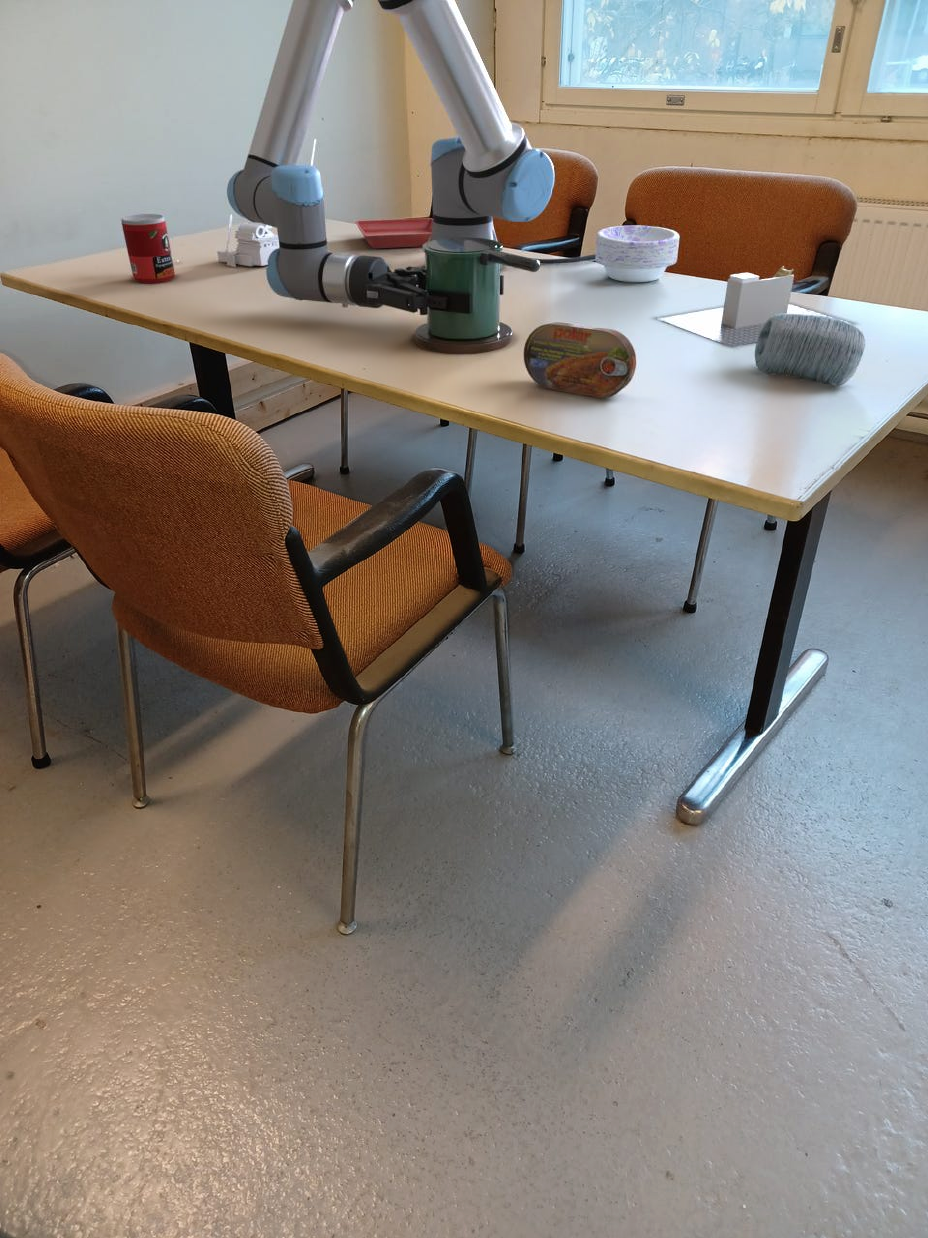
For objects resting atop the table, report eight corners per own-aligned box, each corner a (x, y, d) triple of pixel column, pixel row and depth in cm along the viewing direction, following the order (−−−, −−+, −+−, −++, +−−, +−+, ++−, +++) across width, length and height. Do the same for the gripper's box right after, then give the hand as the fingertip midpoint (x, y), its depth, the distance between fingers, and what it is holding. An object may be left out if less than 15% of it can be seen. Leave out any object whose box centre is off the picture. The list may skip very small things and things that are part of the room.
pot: (410, 328, 135) (406, 242, 128) (467, 314, 141) (467, 231, 135) (505, 360, 121) (506, 266, 115) (564, 344, 128) (569, 253, 121)
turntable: (482, 320, 144) (482, 312, 143) (530, 343, 133) (531, 335, 132) (398, 333, 138) (398, 325, 137) (442, 359, 127) (441, 350, 126)
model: (721, 323, 141) (728, 272, 137) (771, 314, 145) (780, 265, 141) (735, 328, 139) (743, 276, 134) (785, 318, 143) (795, 268, 138)
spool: (733, 353, 117) (777, 282, 114) (752, 368, 125) (794, 302, 122) (822, 401, 111) (871, 327, 108) (837, 413, 119) (883, 346, 116)
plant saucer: (432, 231, 207) (432, 216, 205) (447, 247, 192) (447, 230, 190) (355, 236, 204) (354, 220, 202) (365, 251, 189) (364, 235, 187)
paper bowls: (639, 291, 159) (644, 243, 154) (577, 276, 168) (579, 232, 164) (691, 277, 167) (697, 232, 163) (629, 264, 177) (632, 221, 172)
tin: (521, 384, 118) (523, 319, 113) (532, 377, 120) (534, 314, 115) (626, 404, 111) (632, 336, 107) (635, 396, 113) (642, 330, 109)
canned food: (164, 284, 167) (152, 221, 161) (125, 282, 168) (112, 220, 162) (183, 275, 173) (172, 214, 167) (145, 273, 174) (133, 213, 168)
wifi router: (265, 242, 198) (251, 130, 186) (339, 254, 187) (329, 135, 175) (176, 263, 182) (154, 141, 169) (251, 277, 171) (234, 147, 158)
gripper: (395, 288, 149) (516, 301, 141) (320, 324, 131) (453, 341, 123) (393, 241, 145) (517, 251, 137) (315, 271, 127) (452, 285, 119)
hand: (487, 294), depth 130 cm, fingers closed on pot, 11 cm apart
